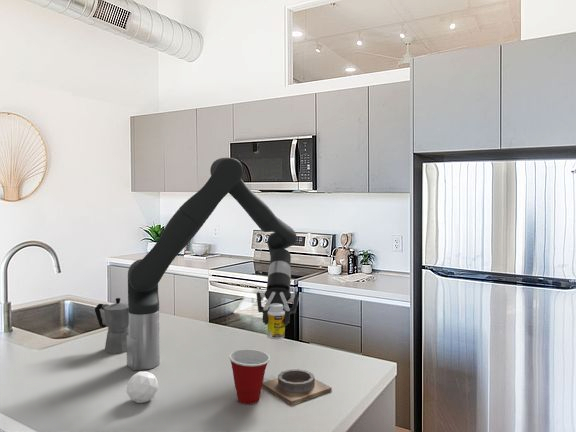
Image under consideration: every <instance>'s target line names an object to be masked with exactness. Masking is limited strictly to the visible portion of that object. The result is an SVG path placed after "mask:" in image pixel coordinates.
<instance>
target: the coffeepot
mask: <svg viewBox="0 0 576 432" xmlns="http://www.w3.org/2000/svg"><path fill="white" fill-rule="evenodd" d="M101 310H103V311H104V318H105V323H106V324H104V323H103V317H102V313H101ZM94 313H95V315H96V319H97V322H98V324H99V327H101V328H106V327H107V334H106V339H105V346H104V352H105V353H107V354H111V355H112V354H113V355H114V354H115V355H116V354H124V353H127V335H129V309H128V303H125V302H121V298H120V297H116V298H115V302H114V303H113V304H112V303H111V304H108V303H98V304H97V305H96V307H94Z"/></svg>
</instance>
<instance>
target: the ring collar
mask: <svg viewBox="0 0 576 432" xmlns="http://www.w3.org/2000/svg"><path fill="white" fill-rule="evenodd" d="M262 388H263V389H265V390H267V391H268V392H270V393H271V394H272V395H274V396H276V397H277V398H279V399H281V400H283V401H284V402H286V403H287V404H289V405H290V406H294V405H296V404H299V403H302V402H305V401H308V400H310V399H313V398H315V397H318V396H322V395H324V394H328V393H330V392H332V391H333V390H332V389H333V388H332V386H330V385H327V384H326V383H324V382H322V381H319V380H318V379H316V378H315V375H314V374H313V373H312V372H311V371H308V370H305V369H299V368H297V369H287V370H284V371H281V372H280V373H279V374H278V375H277V378H273V379H270V380H266V381H263V384H262Z"/></svg>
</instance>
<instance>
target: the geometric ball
mask: <svg viewBox="0 0 576 432" xmlns="http://www.w3.org/2000/svg"><path fill="white" fill-rule="evenodd" d="M158 387H159V381H158V379H157V377H156V375H155V374H153V373H151V372H149V371H146V370H143V371H142V370H139V371H138V372H136V373H135V374H133V375H132V376H131V377H130V379H129V380H128V381H127V383H126V394H127V395H128V398H129V399H130V400H131V401H133V402H135V403H137V404H143V403H144V404H145V403H148V402H149V401H150V400H152V399H153V398H154V397H155V396H156V393H157V391H158Z"/></svg>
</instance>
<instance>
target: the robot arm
mask: <svg viewBox="0 0 576 432" xmlns="http://www.w3.org/2000/svg"><path fill="white" fill-rule="evenodd" d="M209 171H210V177H209V178H208V180H207V181H206V183H205V184H204V185H203V186H202V187H201V188H200V189H199V190H198V191H196V193H195V194H193V195H192V196H190V197H189V198H188V199H187V200H186V201H184V203H182V205H181V206H179V208H178V209H177V210H176V211H175V213H174V214H173V215H172V216H171V218H170V220H168V222H167V223H166V225H165V227H163V228H164V229H163V230H162V232H161V234H160V236H159V238H158V240H157V241H156V243H155V244H154V246H153V247H152V248H150V250H149V252H147V254H146V255H145V256H144V257H143V258H141V259H137V260H135V261H133V263H131V264H130V266H129V268H128V270H127V304H128V309H129V335H127V352H126V366H128V368H130V369H131V371H142V370H143V371H146V370H150V369H153V368H156V367H158V366H159V365H160V363H161V362H160V359H161V355H160V354H161V352H160V348H161V347H160V299H159V298H160V297H159V283H160V281H161V279H162V278H163V276H164V275H165V273H166V271H167V270H168V269H169V267H170V266H171V263H172V262H173V261H174V260H175V258H177V257H178V255H179V254H180V253H181V252H182V251H183V250H184V249H185V248H186V247H187V245H188V244H189V243H190V242H191V241H192V240H193V238H194V237H195V236H196V235H197V234H198V233H199V231H200V230H201V228H202V227H203V225H204V224H205V223H206V221H207V220H208V219H209V217H210V216H211V215H212V213H213V212H214V211H215V210H216V208H217V206H218V205H219V204H220V202H221V201H222V200H223V199H224V198H225V197H226V196H227V195H228V194H229V195H230V196H231V197H232V198H233V199H234V200H235V201H236V202H237V203H238V204H239V205H240V206H241V208H242V209H243V210H244V211H245V212H246V214H248V216H249V218H251V220H252V221H253V223H255V224H256V226H257V227H258V228H259V229H260V230H261V231H262V232H263V233H264V232H265V233H270V232H272V233H270V235H268V238H267V247H268V251H269V255H270V258H269V268H268V272H267V283H266V291H265V292H264V293H261V292H259V291H258V292H256V302H257V311H258V313H262V323H263V324H264V325H265V326H267V313H268V311H269V310H270V305H271V304H273V303H279V304H282V305H283V310H284V311H285V326H288V324H290V316H291V314H296V313H297V309H298V304H299V300H300V294H299V293H295V294H292V293H291V280H292V279H291V278H292V275H291V274H292V272H291V263H292V262H291V261H292V259H291V258H292V255H291V253H290V251H289V250H287V249H288V248H290V247H293V246H294V245H295V244H296V243H297V239H298V238H297V233H296V231H295V230H294V229H293V228H292V227H291V225H288V224H287V223H286V222H285V221H283V220H281V219H280V217H278V216H276V215H275V213H274V212H273V211H272V209H271V208H270V207H269V206H268V205H267V203H265V202H264V200H262V199H261V198H260V197H259V196H258V195H257V194H256V193H254V192H253V191H252V189H251V188H249V187H248V186H247V184H246V183H245V182H244V181H243V179H242V178H243V174H244V168H243V165H242V163H241V161H239V160H238V159H236V158H235V157H220V158H218V159H216V160H214V161H213V162H212V164H211V166H210V169H209ZM264 298H265V299H266V303H265V305H264V306H262V301H264ZM290 300H291V301H292V302H293V303H292V307H289V304H288V301H290Z"/></svg>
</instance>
